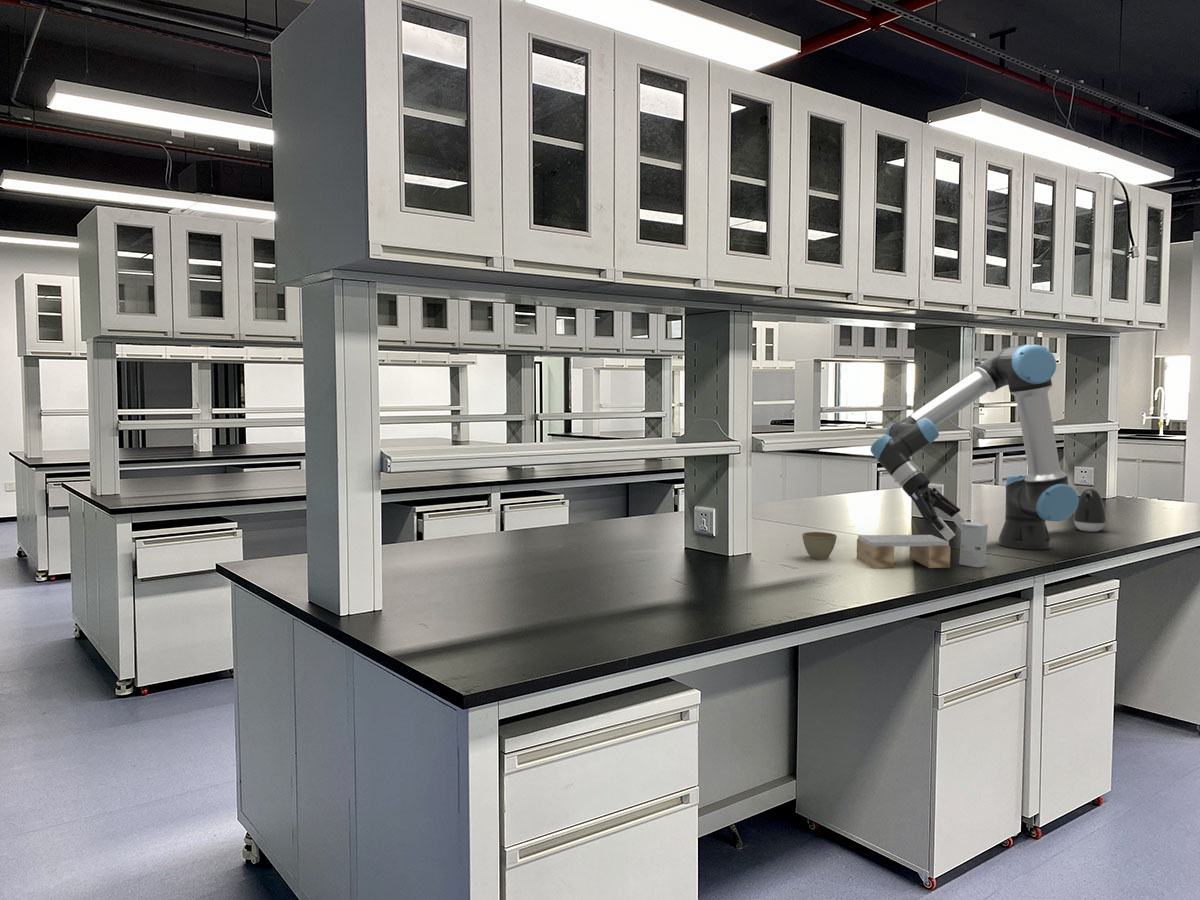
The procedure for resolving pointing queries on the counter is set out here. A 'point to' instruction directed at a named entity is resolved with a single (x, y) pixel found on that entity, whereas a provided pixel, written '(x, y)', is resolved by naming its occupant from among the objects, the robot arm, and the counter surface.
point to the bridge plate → (902, 540)
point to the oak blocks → (920, 554)
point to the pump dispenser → (1090, 512)
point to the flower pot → (819, 544)
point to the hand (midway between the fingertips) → (961, 535)
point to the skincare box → (973, 544)
